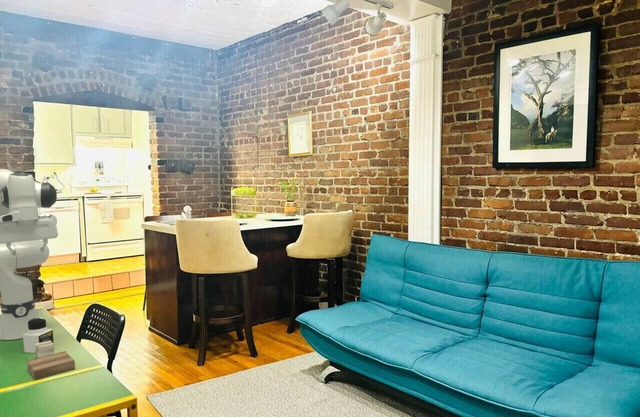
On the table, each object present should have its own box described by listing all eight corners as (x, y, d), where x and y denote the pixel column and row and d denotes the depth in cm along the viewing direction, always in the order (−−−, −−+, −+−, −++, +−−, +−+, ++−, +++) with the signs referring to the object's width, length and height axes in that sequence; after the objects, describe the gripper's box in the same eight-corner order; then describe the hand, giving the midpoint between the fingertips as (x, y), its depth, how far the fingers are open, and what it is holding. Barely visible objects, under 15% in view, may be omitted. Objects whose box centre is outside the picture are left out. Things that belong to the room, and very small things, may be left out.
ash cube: (36, 357, 175) (35, 343, 175) (51, 353, 179) (50, 340, 178) (39, 361, 172) (37, 347, 171) (54, 357, 175) (53, 343, 174)
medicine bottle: (40, 353, 178) (37, 322, 177) (23, 352, 180) (21, 321, 179) (54, 346, 185) (52, 316, 184) (38, 345, 187) (36, 315, 186)
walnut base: (27, 369, 164) (26, 360, 164) (66, 359, 172) (65, 351, 172) (34, 379, 155) (34, 371, 155) (75, 369, 163) (74, 360, 163)
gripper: (54, 214, 186) (57, 249, 186) (-10, 219, 172) (-6, 257, 172) (58, 213, 181) (61, 249, 181) (-7, 218, 168) (-3, 257, 168)
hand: (28, 253), depth 177 cm, fingers open, 8 cm apart
